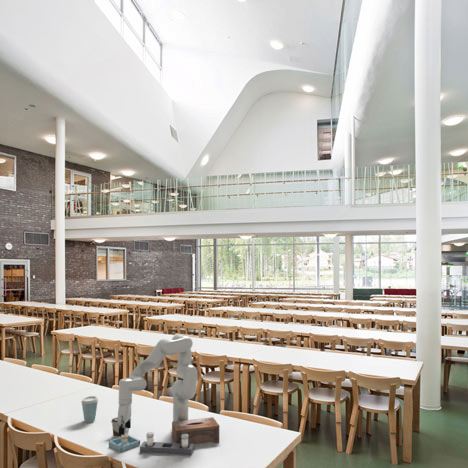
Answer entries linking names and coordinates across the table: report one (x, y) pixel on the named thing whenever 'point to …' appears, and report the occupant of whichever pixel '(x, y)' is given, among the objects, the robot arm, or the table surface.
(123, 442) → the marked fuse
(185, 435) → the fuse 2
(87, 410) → the disposable coffee cup
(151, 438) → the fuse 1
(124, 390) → the robot arm
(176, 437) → the tissue box cover
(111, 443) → the tray
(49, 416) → the table surface
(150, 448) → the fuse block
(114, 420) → the food container
